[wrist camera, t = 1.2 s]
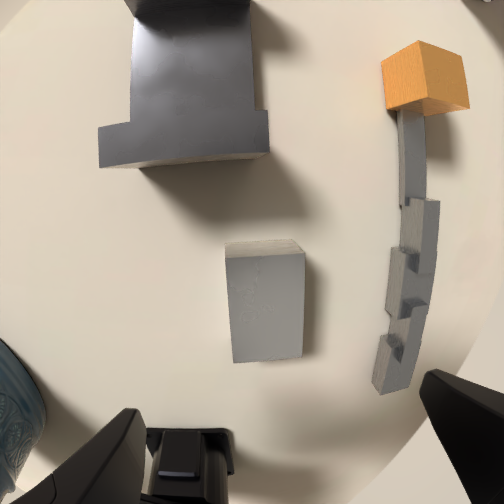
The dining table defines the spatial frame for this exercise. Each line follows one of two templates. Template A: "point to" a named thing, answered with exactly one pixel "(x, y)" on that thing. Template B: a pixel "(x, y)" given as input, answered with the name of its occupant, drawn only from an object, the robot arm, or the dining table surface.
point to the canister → (17, 418)
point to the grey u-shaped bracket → (188, 87)
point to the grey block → (265, 299)
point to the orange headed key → (414, 200)
